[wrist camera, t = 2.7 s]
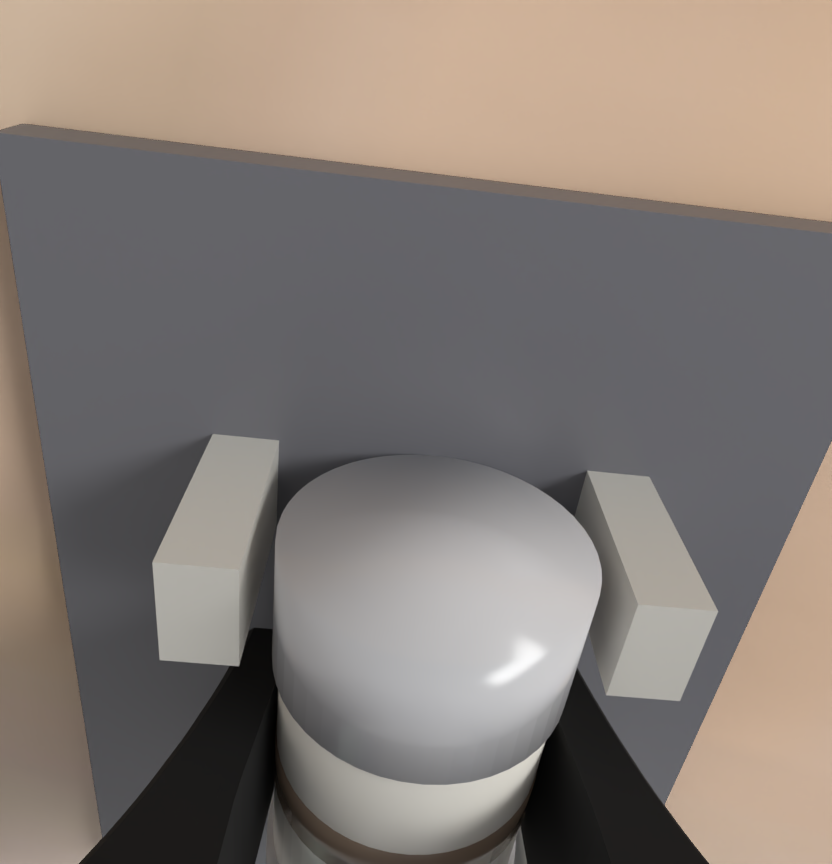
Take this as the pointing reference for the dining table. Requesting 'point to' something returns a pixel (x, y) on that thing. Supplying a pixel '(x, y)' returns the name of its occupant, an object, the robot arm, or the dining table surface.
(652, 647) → the fuse block
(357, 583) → the fuse
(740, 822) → the dining table surface
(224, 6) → the dining table surface
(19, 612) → the dining table surface
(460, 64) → the dining table surface
